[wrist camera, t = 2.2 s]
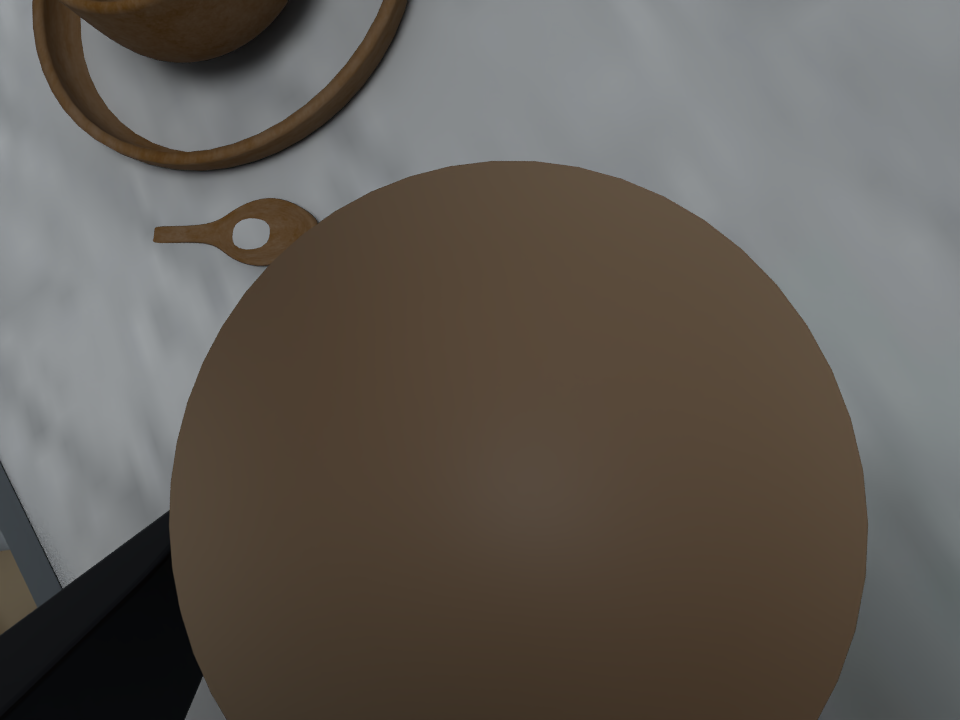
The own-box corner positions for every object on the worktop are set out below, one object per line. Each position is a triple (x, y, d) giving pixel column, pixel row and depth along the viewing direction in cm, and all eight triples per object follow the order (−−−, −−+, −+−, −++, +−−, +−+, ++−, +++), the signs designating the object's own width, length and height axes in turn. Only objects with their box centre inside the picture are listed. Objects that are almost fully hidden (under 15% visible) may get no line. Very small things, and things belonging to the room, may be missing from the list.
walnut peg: (653, 615, 17) (597, 1074, 4) (487, 502, 18) (60, 594, 5) (760, 443, 17) (1031, 378, 4) (586, 342, 18) (384, 57, 5)
